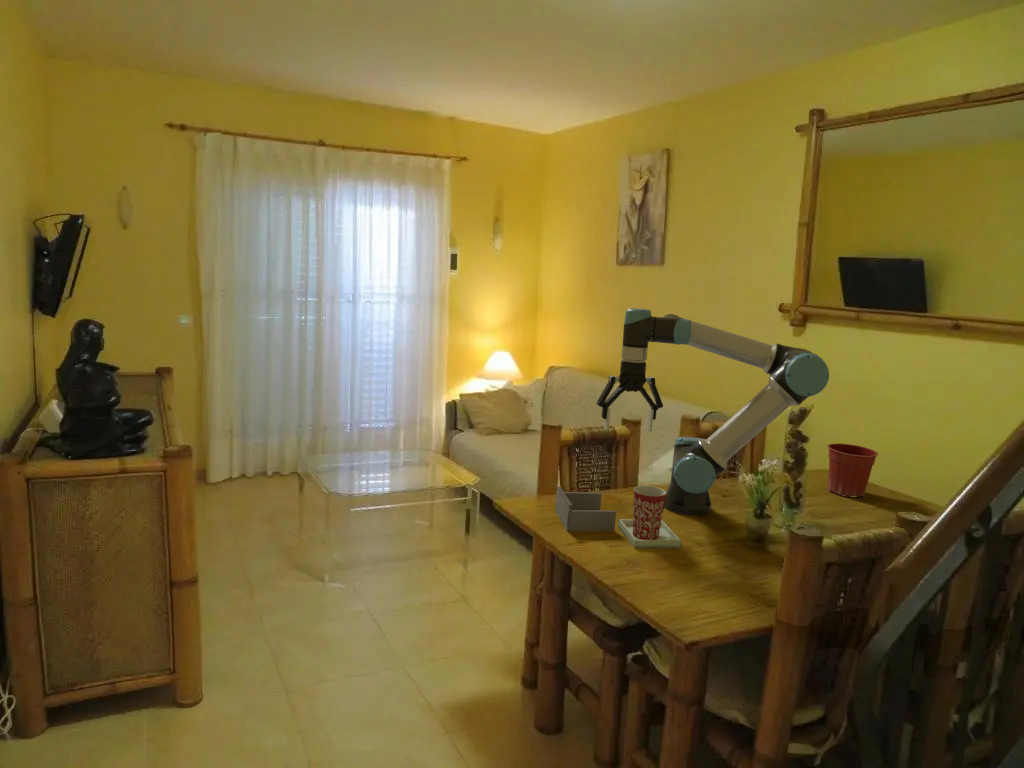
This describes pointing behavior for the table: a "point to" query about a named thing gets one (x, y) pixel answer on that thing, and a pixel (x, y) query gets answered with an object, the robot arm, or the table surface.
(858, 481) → the flower pot
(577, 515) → the bay
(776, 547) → the table surface
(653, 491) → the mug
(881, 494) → the table surface
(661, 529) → the tray
